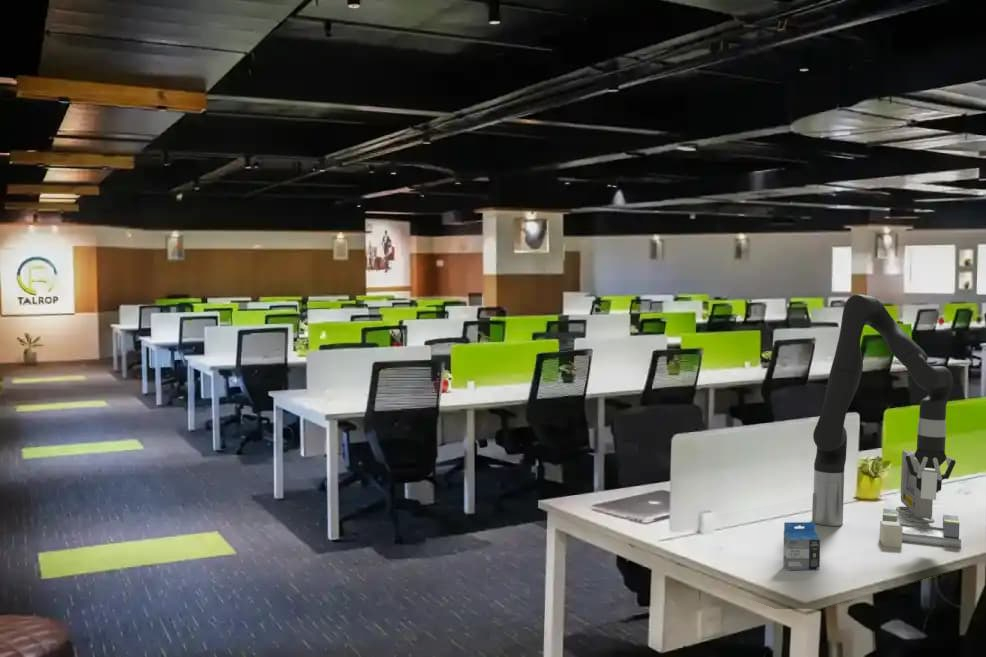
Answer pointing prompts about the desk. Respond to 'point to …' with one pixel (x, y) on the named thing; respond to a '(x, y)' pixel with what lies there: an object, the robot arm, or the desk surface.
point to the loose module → (929, 484)
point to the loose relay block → (891, 534)
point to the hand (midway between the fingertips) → (928, 490)
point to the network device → (913, 493)
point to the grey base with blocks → (928, 531)
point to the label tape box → (801, 547)
